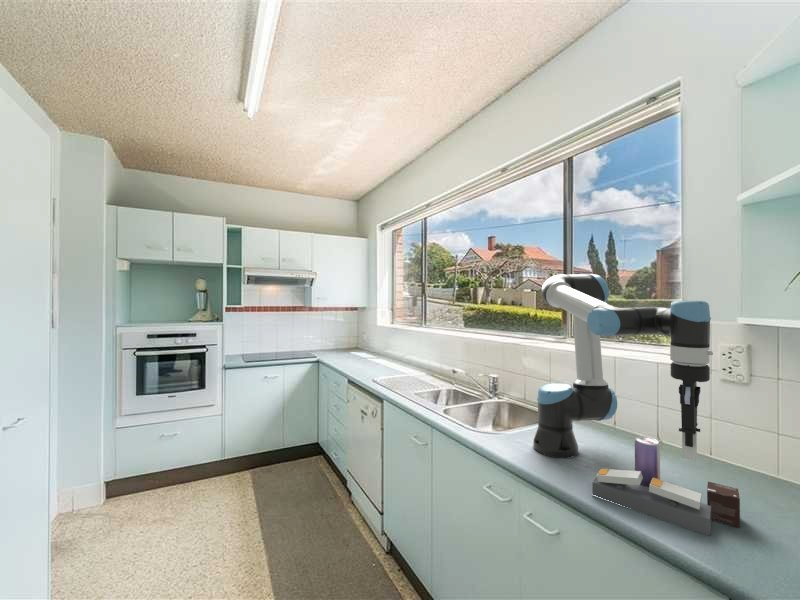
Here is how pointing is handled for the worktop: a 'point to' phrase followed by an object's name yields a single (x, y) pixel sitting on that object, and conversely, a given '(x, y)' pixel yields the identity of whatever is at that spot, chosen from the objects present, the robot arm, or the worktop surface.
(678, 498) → the rocker right
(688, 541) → the worktop surface
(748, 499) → the worktop surface
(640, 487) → the switch panel
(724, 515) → the box
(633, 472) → the block
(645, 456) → the beverage can
